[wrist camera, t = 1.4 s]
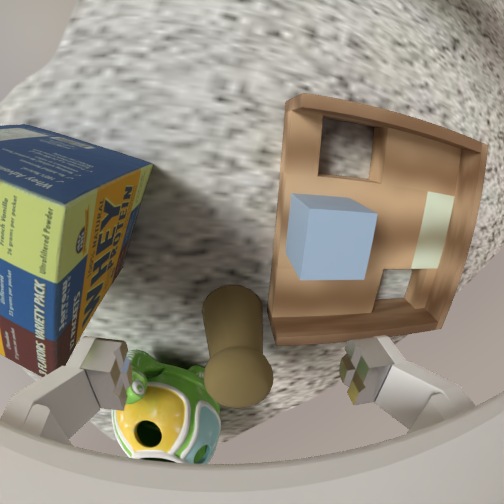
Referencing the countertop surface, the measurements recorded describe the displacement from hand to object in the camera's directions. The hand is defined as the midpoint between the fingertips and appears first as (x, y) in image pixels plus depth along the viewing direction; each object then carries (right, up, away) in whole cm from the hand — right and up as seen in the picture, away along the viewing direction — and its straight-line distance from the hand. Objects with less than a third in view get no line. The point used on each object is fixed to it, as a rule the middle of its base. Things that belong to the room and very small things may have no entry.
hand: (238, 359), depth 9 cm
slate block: (+6, +6, +15) cm, 17 cm away
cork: (-2, -2, +20) cm, 20 cm away
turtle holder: (-10, -12, +23) cm, 28 cm away
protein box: (-17, +9, +14) cm, 24 cm away
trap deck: (+12, +7, +18) cm, 23 cm away
